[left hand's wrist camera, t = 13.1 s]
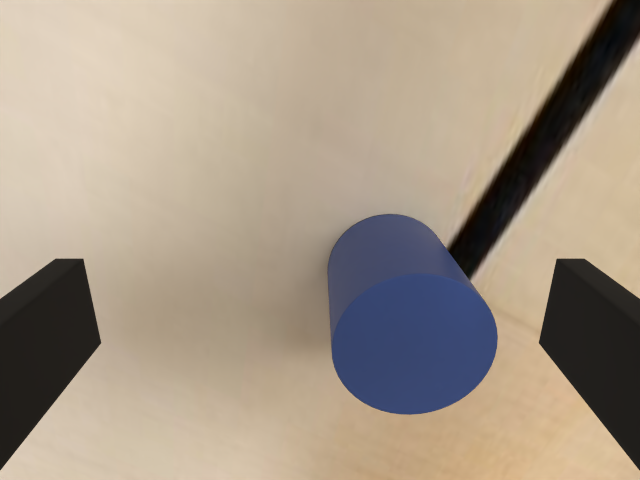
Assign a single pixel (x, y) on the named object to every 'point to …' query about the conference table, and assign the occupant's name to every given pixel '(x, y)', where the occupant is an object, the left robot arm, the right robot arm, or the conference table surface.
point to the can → (405, 318)
